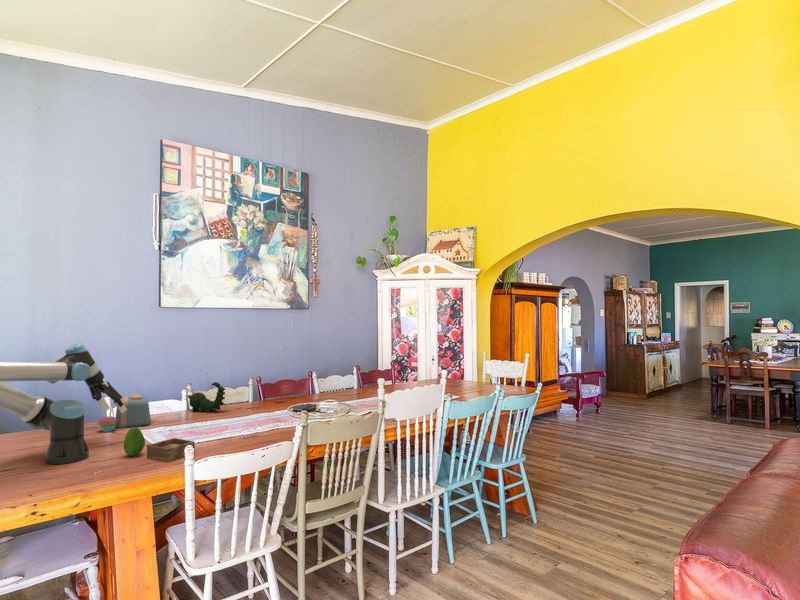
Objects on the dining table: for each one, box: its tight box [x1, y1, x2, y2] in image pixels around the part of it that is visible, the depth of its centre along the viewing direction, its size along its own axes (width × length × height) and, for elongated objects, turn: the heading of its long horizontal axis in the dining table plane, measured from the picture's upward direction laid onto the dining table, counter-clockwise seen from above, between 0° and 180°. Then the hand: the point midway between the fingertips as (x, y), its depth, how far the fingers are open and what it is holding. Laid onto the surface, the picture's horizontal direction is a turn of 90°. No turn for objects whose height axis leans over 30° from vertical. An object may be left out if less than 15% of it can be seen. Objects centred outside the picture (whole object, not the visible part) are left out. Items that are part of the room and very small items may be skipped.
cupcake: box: [97, 407, 118, 433], centre depth 251 cm, size 9×8×12 cm
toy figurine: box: [186, 381, 226, 413], centre depth 296 cm, size 9×19×25 cm
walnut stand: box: [146, 437, 195, 463], centre depth 208 cm, size 13×13×5 cm
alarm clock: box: [115, 393, 152, 429], centre depth 265 cm, size 16×16×16 cm
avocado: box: [123, 426, 146, 456], centre depth 208 cm, size 8×8×12 cm
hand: (115, 410), depth 234 cm, fingers open, 13 cm apart
